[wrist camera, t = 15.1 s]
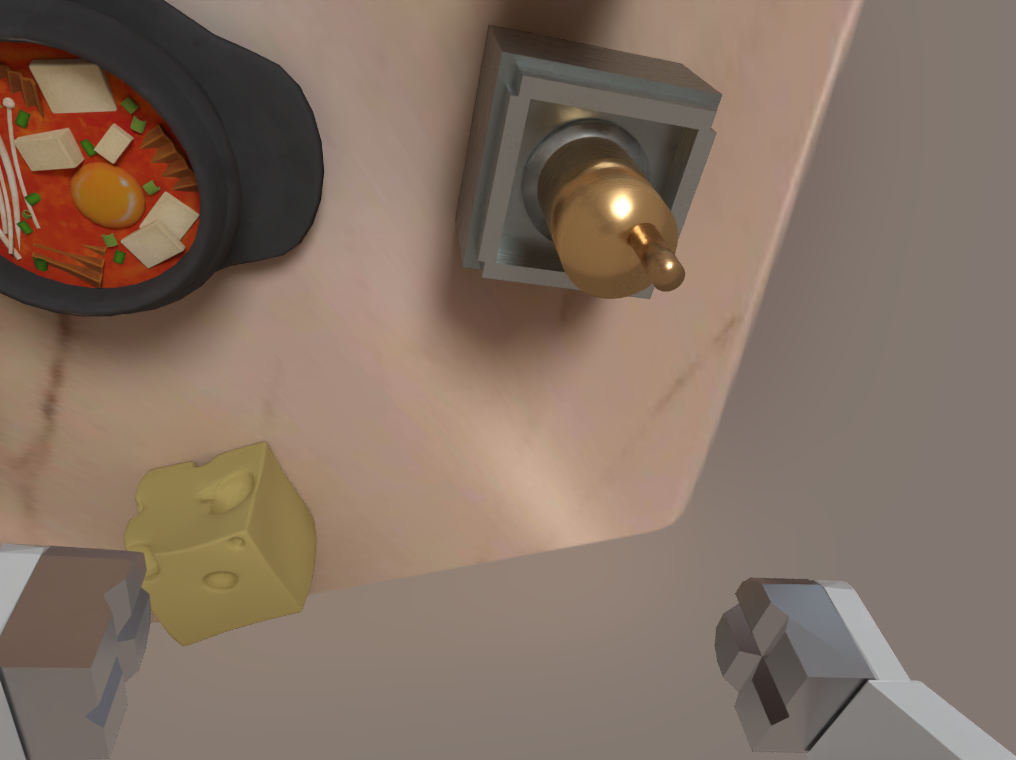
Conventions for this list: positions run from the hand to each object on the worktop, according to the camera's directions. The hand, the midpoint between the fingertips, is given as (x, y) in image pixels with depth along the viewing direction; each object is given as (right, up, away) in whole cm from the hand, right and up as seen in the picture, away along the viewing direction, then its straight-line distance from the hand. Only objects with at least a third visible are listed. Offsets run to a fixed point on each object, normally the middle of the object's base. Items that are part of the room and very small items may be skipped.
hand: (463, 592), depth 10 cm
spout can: (+5, +14, +30) cm, 33 cm away
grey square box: (+4, +18, +36) cm, 41 cm away
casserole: (-23, +17, +33) cm, 44 cm away
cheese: (-22, -7, +51) cm, 56 cm away
